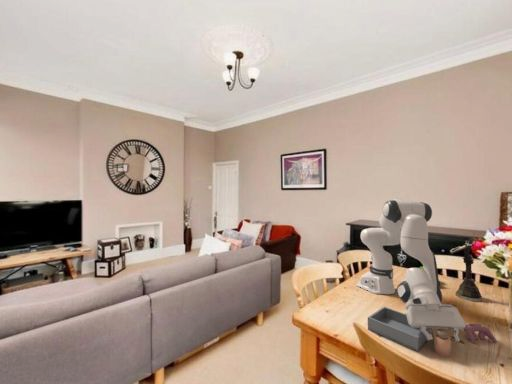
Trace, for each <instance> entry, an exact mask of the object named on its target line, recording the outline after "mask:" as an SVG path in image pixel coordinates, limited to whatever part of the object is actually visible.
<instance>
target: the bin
mask: <svg viewBox="0 0 512 384" xmlns="http://www.w3.org/2000/svg"><path fill="white" fill-rule="evenodd" d="M367 330H369V331H370V332H373V333H374V334H377V335H380V336H381V337H383V338H386V339H388V340H390V341H393V342H395V343H397V344H399V345H401V346H404V347H406V348H408V349H411V350H412V351H415V352H417V353H419V352H420V351H421V349H422V348H423V347H424V346H425V345H426V344H427V342H429V340H427V338H426V335H424V334H423V332H422V331H421V330H420V328H416V327H411V326H410V325H409V323H408V320H407V316H406V313H404V312H401V311H398V310H395V309H392V308H389V307H386V306H383V307H381V308H380V309H378V310H376V311H375V312H373V313H372V314H371V315H369V316H368V317H367ZM426 331H427V332H428V333H429V334H431V335H432V336H433V328H426Z"/></svg>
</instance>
